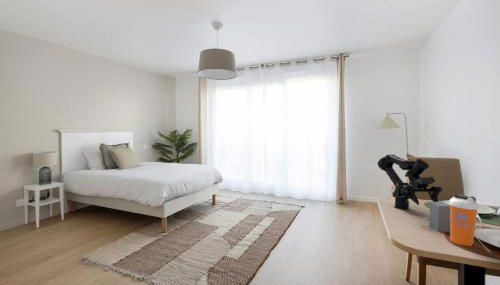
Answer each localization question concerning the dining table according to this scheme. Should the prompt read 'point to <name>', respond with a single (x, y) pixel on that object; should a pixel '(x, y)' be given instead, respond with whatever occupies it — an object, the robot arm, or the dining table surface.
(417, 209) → the dining table surface
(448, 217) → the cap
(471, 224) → the shaker bottle
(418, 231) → the dining table surface
